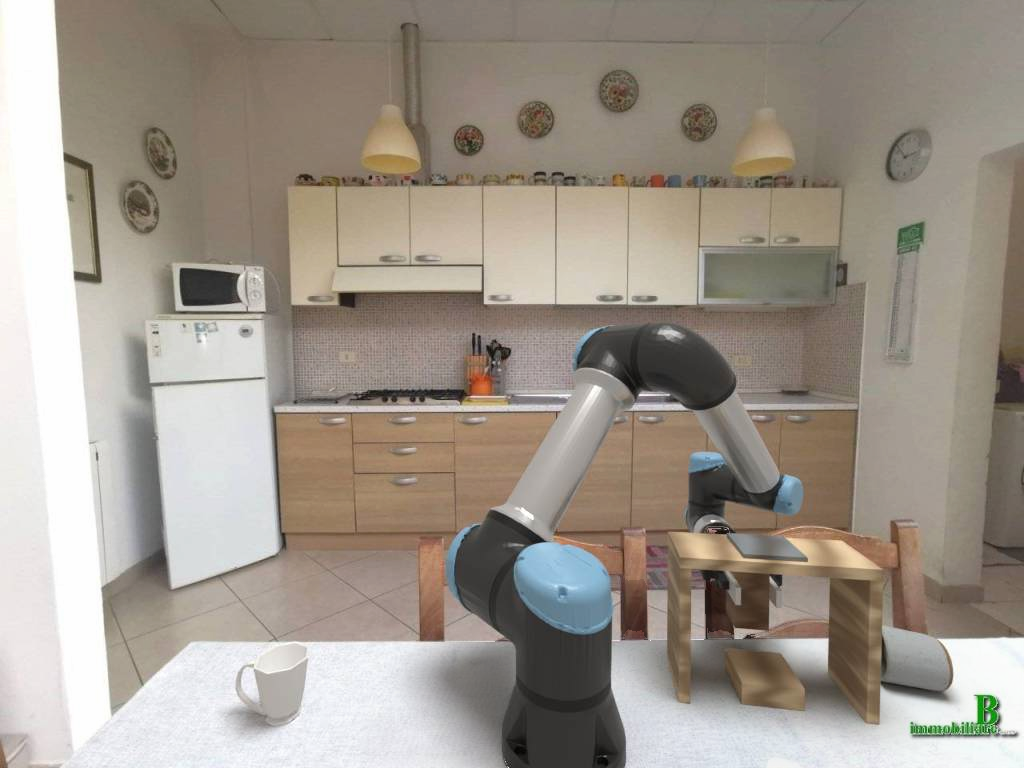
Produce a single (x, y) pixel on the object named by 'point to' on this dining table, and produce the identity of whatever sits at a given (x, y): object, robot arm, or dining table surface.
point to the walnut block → (750, 601)
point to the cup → (278, 682)
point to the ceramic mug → (915, 660)
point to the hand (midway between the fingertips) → (758, 597)
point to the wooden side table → (769, 672)
